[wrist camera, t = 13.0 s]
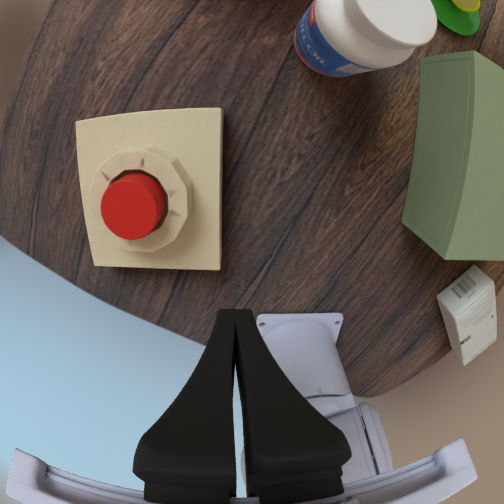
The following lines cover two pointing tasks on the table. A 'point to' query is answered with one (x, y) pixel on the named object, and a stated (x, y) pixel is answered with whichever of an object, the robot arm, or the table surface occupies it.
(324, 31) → the pill bottle
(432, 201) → the cabinet
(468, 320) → the cosmetic box
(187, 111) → the control box
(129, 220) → the button
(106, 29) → the table surface
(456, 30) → the plate with lemons
